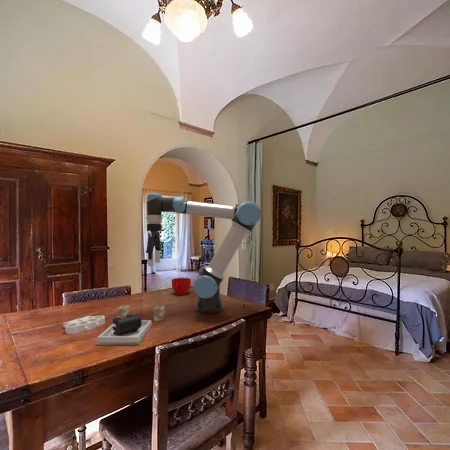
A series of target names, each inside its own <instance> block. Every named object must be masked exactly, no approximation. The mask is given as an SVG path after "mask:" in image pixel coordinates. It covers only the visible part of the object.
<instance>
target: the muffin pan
mask: <svg viewBox="0 0 450 450" xmlns="http://www.w3.org/2000/svg"><path fill="white" fill-rule="evenodd" d="M105 323H106V316H105V315H94V316H93V315H85V316H84V317H83V316H82V317H79V318H75V319H72V320H69V321H64V322H63V323H62V327H63V329H64V330H65V334H66V335H75V334H78V333H85V332H87V331H90V330H92V329H93V330H94V329H97V328H98V327H100V326H101V325H105Z"/></svg>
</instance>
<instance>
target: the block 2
mask: <svg viewBox="0 0 450 450" xmlns="http://www.w3.org/2000/svg"><path fill="white" fill-rule="evenodd" d="M165 311H166V307H165V305H156V306H155V307H154V309H153V321H154V322H163V320H165V317H166V314H165V313H166V312H165Z"/></svg>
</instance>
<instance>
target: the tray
mask: <svg viewBox="0 0 450 450" xmlns="http://www.w3.org/2000/svg"><path fill="white" fill-rule="evenodd" d="M141 322H142V324H141V327H140V328H139V329H138V330H136V331H133V332H130V333H126V334H123V335H120V336H117V335H115V334H113V332H115V331H114V330H113V326H114V327H116V325H115V324H113V323H112V324H111V325H109V326H108V327H107V329H105V330H104V331H103V332H101V333H100V334H99V335H98V336H97V337H96V338H97V339H96V341H97V343H96V345H97V346H138V345H139V344H140V343H141V342H142V340H143V339H144V338H145V336H146V335H147V334H148V333H149V331H150V330H151V329H152V328H153V327H152V325H153V324H152V320H150V319H149V320H147V319H146V320H145V319H144V320H142V319H141Z"/></svg>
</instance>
